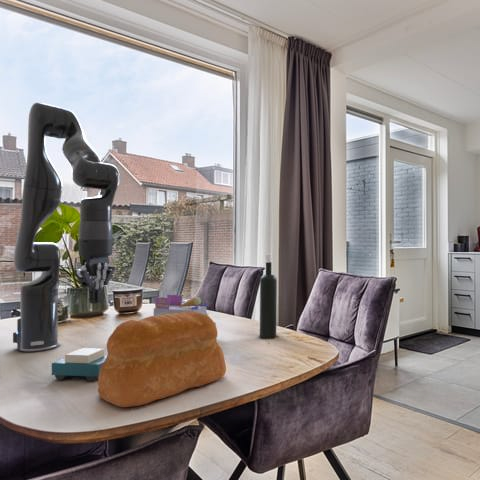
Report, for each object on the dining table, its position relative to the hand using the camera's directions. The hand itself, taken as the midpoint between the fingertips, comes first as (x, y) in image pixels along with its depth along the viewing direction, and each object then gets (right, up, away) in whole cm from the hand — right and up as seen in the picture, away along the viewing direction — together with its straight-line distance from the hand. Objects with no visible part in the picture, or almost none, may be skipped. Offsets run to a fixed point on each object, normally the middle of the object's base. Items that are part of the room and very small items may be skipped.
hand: (95, 303), depth 108 cm
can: (+4, -18, +41) cm, 45 cm away
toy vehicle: (+10, -18, +32) cm, 38 cm away
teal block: (0, -15, -1) cm, 15 cm away
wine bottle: (+37, -18, +38) cm, 56 cm away
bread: (+24, -19, -11) cm, 32 cm away
